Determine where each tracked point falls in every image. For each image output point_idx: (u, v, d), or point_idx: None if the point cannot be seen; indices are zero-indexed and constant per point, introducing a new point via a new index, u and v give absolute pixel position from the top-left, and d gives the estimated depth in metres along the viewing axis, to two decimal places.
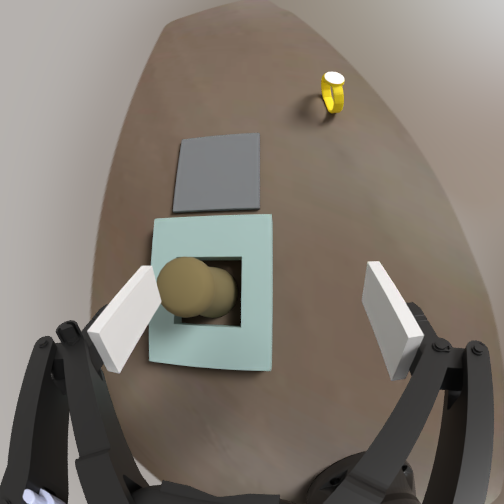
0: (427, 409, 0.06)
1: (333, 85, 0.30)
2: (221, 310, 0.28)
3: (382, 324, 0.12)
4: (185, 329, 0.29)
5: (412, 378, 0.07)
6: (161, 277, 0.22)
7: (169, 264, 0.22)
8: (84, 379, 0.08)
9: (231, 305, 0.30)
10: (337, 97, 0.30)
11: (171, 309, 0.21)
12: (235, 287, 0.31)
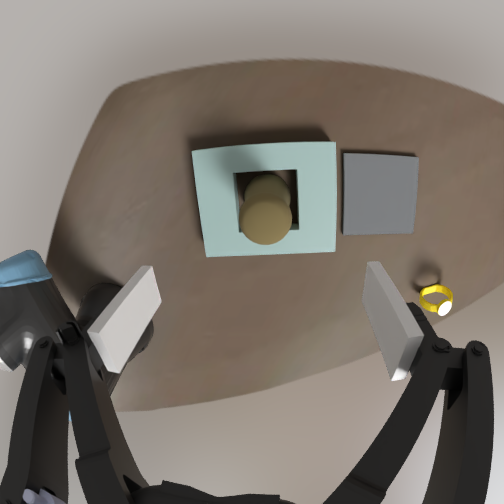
0: (427, 409, 0.06)
1: (438, 306, 0.34)
2: None
3: (382, 324, 0.12)
4: (229, 184, 0.32)
5: (412, 378, 0.07)
6: (270, 205, 0.24)
7: (283, 211, 0.25)
8: (84, 379, 0.08)
9: None
10: (428, 305, 0.35)
11: (243, 216, 0.25)
12: None
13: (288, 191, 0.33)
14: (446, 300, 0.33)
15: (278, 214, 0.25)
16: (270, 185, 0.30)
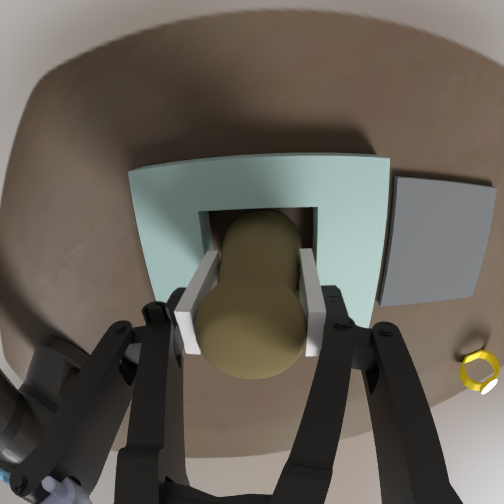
0: (345, 384, 0.08)
1: (483, 385, 0.20)
2: None
3: (303, 304, 0.14)
4: (193, 232, 0.18)
5: (320, 359, 0.09)
6: (259, 322, 0.10)
7: (289, 332, 0.11)
8: (159, 367, 0.09)
9: None
10: (470, 384, 0.21)
11: (201, 334, 0.11)
12: None
13: (299, 243, 0.19)
14: (493, 377, 0.19)
15: (278, 339, 0.10)
16: (266, 241, 0.16)
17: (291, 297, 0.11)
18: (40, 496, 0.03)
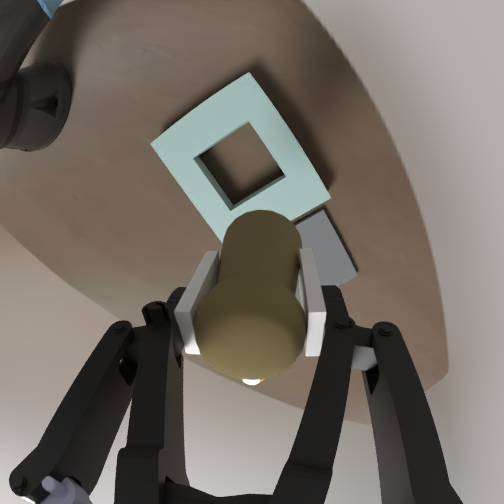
0: (345, 384, 0.08)
1: None
2: None
3: (303, 304, 0.14)
4: (234, 123, 0.27)
5: (320, 359, 0.09)
6: (259, 323, 0.10)
7: (289, 333, 0.10)
8: (159, 367, 0.09)
9: None
10: None
11: (200, 334, 0.11)
12: None
13: (299, 244, 0.19)
14: None
15: (278, 340, 0.10)
16: (267, 242, 0.16)
17: (292, 298, 0.11)
18: (40, 496, 0.03)
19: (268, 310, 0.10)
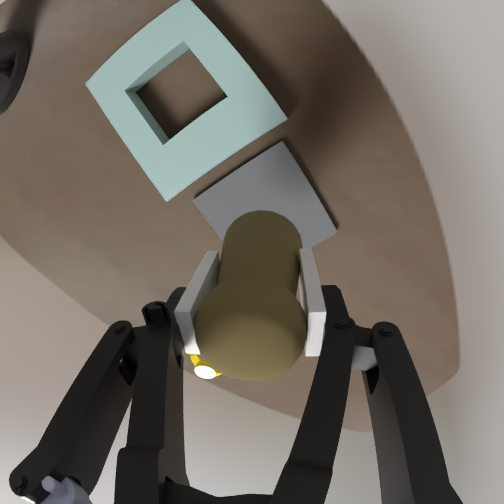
0: (345, 384, 0.08)
1: (200, 364, 0.31)
2: None
3: (303, 304, 0.14)
4: (168, 46, 0.19)
5: (320, 359, 0.09)
6: (260, 324, 0.10)
7: (289, 335, 0.10)
8: (159, 367, 0.09)
9: None
10: None
11: (201, 335, 0.11)
12: None
13: (299, 245, 0.19)
14: (213, 368, 0.31)
15: (278, 341, 0.10)
16: (267, 242, 0.16)
17: (292, 299, 0.11)
18: (40, 496, 0.03)
19: (268, 311, 0.10)
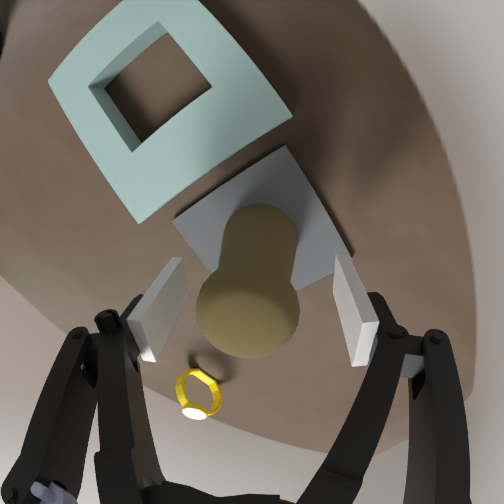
0: (390, 394, 0.07)
1: (189, 405, 0.26)
2: None
3: (345, 312, 0.13)
4: (140, 29, 0.14)
5: (370, 366, 0.08)
6: (255, 301, 0.12)
7: (282, 311, 0.12)
8: (117, 371, 0.09)
9: None
10: (180, 391, 0.26)
11: (202, 313, 0.12)
12: None
13: (294, 235, 0.20)
14: (203, 410, 0.26)
15: (272, 317, 0.12)
16: (263, 232, 0.17)
17: (284, 280, 0.13)
18: None
19: (262, 289, 0.12)
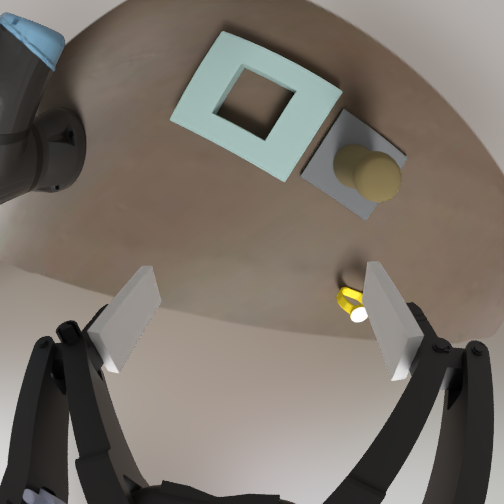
0: (427, 409, 0.06)
1: (354, 308, 0.36)
2: (351, 187, 0.31)
3: (382, 324, 0.12)
4: (232, 70, 0.28)
5: (412, 378, 0.07)
6: (380, 160, 0.22)
7: (392, 162, 0.22)
8: (84, 379, 0.08)
9: None
10: (343, 302, 0.37)
11: (361, 179, 0.24)
12: None
13: None
14: None
15: (390, 166, 0.22)
16: (360, 150, 0.28)
17: (385, 153, 0.23)
18: None
19: (380, 155, 0.22)
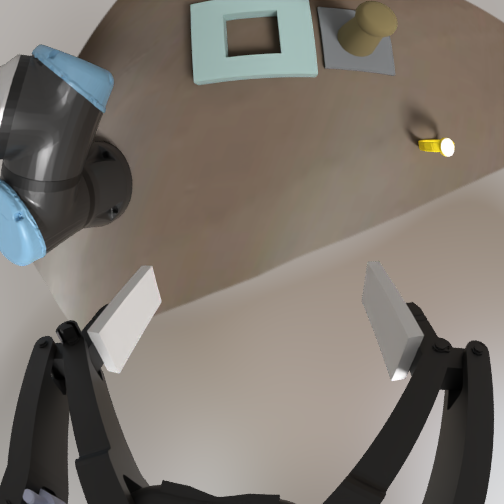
0: (427, 409, 0.06)
1: (440, 144, 0.29)
2: (367, 50, 0.27)
3: (382, 324, 0.12)
4: (219, 22, 0.28)
5: (412, 378, 0.07)
6: (369, 4, 0.18)
7: (377, 2, 0.18)
8: (84, 379, 0.08)
9: (369, 53, 0.28)
10: (428, 145, 0.30)
11: (368, 21, 0.19)
12: None
13: None
14: (446, 138, 0.28)
15: (377, 4, 0.18)
16: None
17: None
18: None
19: (366, 2, 0.18)
